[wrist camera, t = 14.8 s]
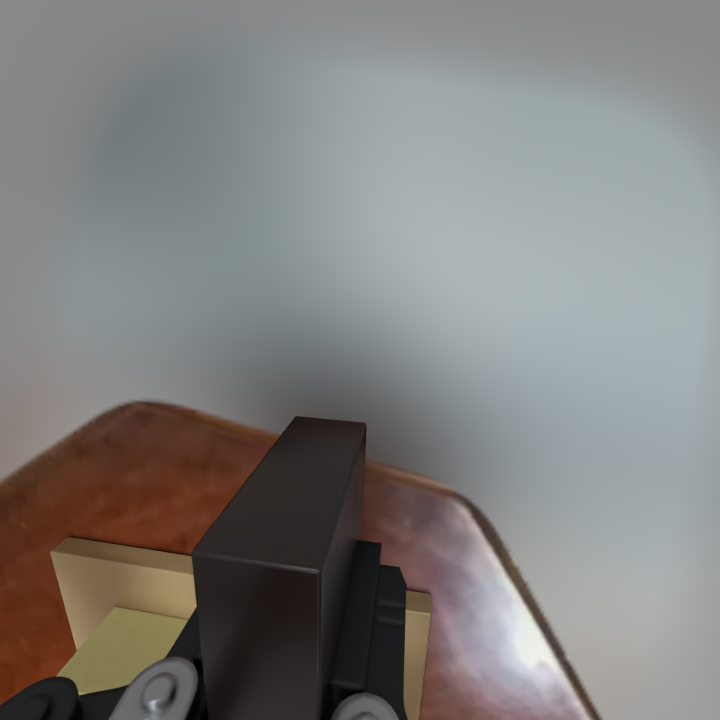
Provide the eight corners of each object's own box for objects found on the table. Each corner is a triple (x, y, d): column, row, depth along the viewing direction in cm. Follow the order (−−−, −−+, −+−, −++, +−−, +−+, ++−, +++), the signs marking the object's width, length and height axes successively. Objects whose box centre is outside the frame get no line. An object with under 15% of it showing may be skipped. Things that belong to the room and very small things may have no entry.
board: (102, 675, 21) (88, 695, 21) (67, 536, 18) (48, 551, 18) (413, 741, 19) (413, 767, 18) (430, 593, 16) (431, 614, 15)
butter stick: (129, 670, 19) (69, 757, 16) (114, 605, 18) (46, 686, 15) (233, 692, 19) (192, 789, 15) (226, 626, 17) (180, 716, 14)
